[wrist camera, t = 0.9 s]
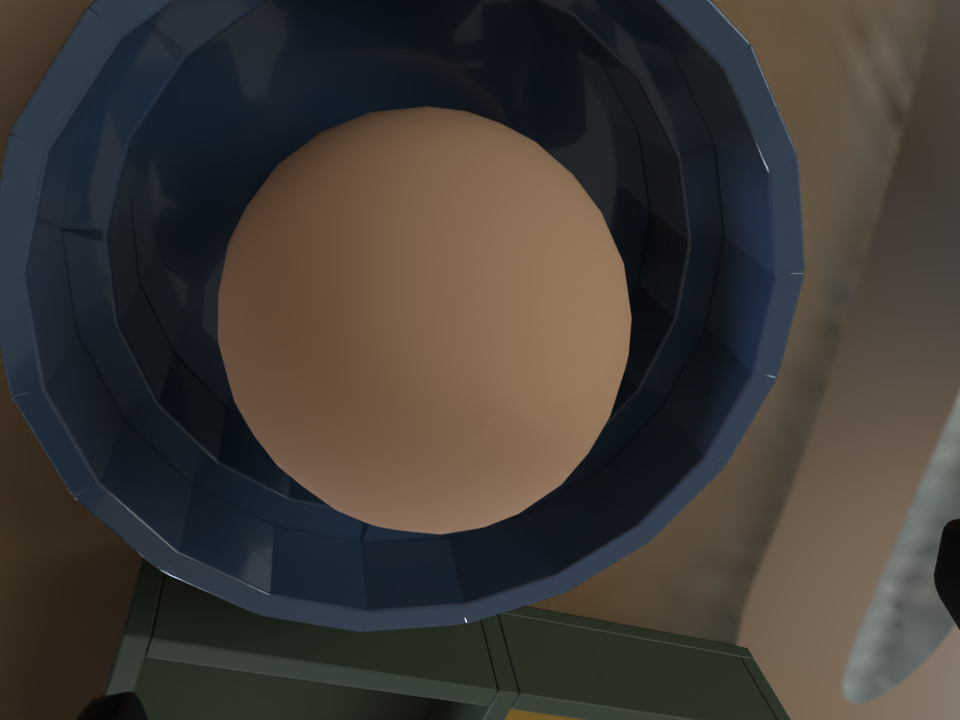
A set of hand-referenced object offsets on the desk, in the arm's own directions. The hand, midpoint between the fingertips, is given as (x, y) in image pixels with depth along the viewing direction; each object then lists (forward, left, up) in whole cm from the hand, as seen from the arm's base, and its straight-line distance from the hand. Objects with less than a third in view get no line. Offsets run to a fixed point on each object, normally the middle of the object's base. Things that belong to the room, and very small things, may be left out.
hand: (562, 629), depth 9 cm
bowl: (-1, 0, -12) cm, 12 cm away
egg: (-1, 0, -12) cm, 12 cm away
